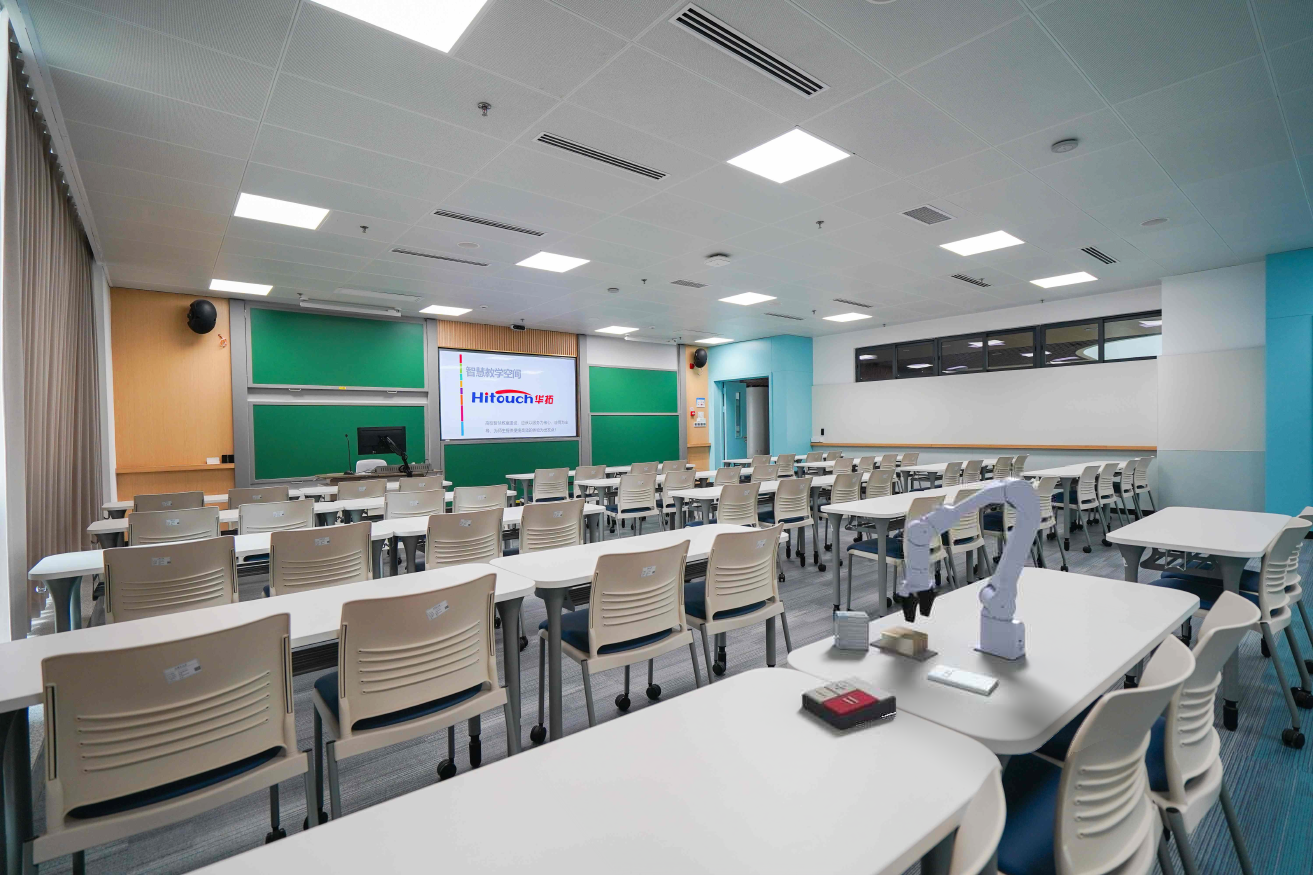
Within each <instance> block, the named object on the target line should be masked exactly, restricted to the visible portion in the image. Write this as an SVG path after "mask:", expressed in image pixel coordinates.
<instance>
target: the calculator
mask: <svg viewBox="0 0 1313 875" xmlns="http://www.w3.org/2000/svg"><path fill="white" fill-rule="evenodd" d="M801 707H802V708H803V709H804V710H806V711H808V712H809V713H811V714H813V715H815V717H817V718H819V719H821V720H822V721H824V723H825V722H826V723H827V724H829V725H831V726H832V727H834V728H835V729H837V730H838V729H839V730H838V731H840V730H843V731H846V730H849V729H848V728H850V729H852V728H851V727H853V728H855V727H854V726H856V725H859V724H862V723H865V722H868V721H870V722H872V721H871V720H873V719H876V718H878V719H880V718H879V717H882V716H885V715H887V714H890V713H894V712H896V713H897V698H896V696H895V695H893V694H892V693H890V692H887V691H886V690H883V689H882V688H880V687H877V686H875V685H874V684H871V683H870V682H868V681H865V679H862V678H860V677H858V676H855V675H854V676H852V677H849V678H846V679H843V680H841V679H840V680H837V681H834V682H832V683H828V684H825V685H824V686H819V687H815V688H813V689H810V690H807V691H805V692H804V693H803V694H801ZM876 720H877V719H876ZM873 721H874V720H873ZM868 723H869V722H868ZM865 724H866V723H865ZM862 725H863V724H862ZM859 726H860V725H859ZM856 727H857V726H856ZM845 729H846V730H845Z"/></svg>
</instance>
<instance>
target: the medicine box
mask: <svg viewBox="0 0 1313 875" xmlns="http://www.w3.org/2000/svg"><path fill="white" fill-rule="evenodd" d="M837 636H839V637H837ZM835 637H836V638H835ZM834 645H835V646H836V648H837V650H858V651H859V650H860V651H869V650H870V617H869V616H868V614H867V613H866V612H865V611H853V610H851V611H848V610H845V611H844V610H843V611H842V610H836V611H834Z"/></svg>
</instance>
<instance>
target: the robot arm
mask: <svg viewBox="0 0 1313 875" xmlns="http://www.w3.org/2000/svg"><path fill="white" fill-rule="evenodd" d="M1039 495H1040V493H1039V492H1038V491H1037V489H1036V487H1034V486H1033V485H1032V483H1031V482H1029V481H1027V480H1024V479H1019V478H1017V477H1014V476H1006V477H1003V478H1001V479H999V480H997V481H994V482H992V483H990V484H988V485H987V486H985V487H983V488H981V489H980V490H978V491H976V492H974V493H973V494H972V495H970V496H968V497H966V498H965V499H963V500H961V501H959V502H957V503H956V504H955V505H953V506H950V505H946V504H944V505H937V506H935V507H934V510H933V511H932V512H930V513H928V514H926V515H924V516H923V515H919V517H918V519H919V520H915V519H914V520H912V521H909V522H908V524H907V525H906V526H905V529H904V534H905V537H906V538H907V540H906V550H905V553H906V555H905V556H906V557H905V563H906V564H905V580H902V581H901V584H902V586H900V587H899V589H898V590H899V591H898V592H896V598H897V600H898V602H899V603H900V606H901V610H902V613H903V617H904V620H905V622H908V623H911V624H914V623H915V621H916V617H917V616H916V615H917V614H916V613H917V610H918V609H919V613H920V614H919V615H920V616H922V617H927V618H929V617H930V614H931V611H932V608H933V605H934V602H935V599H936V598H937V596H938V595H939V589H937V588H936V579H931V575H930V574H931V550H930V543H931V542H932V541H933V537H937V536H939V535H941V534H943V533H945V532H946V531H948V530H950V529H953V528H955V527H956V526H958V525H959V523H960V519H961V517H964V516H966V515H969V514H971V513H973V512H974V511H976V510H979V509H981V508H982V507H985V506H987V505H989V504H1007V505H1008V506H1009V508H1010V509H1011V511H1012V512H1013V514H1014V516H1015V517H1016V519H1015V521H1014V524H1013V526H1012V528H1011V531H1010V534H1009V537H1008V539H1007V541H1006V544H1005V546H1004V550H1003V551H1002V554H1001V557H1000V560H999V562H998V565H997V567H996V570H995V571H994V574H992V575H991V576H990V577H989V579H988V581H987V583H986V584H985V585H984V586H983V587H982V588H981V589H980V591H979V593H978V599H979V602H980V604H981V605H983V607H982V609H981V610H980V619H979V620H980V626H979V627H980V628H979V630H980V633H979V634H980V635H979V640H980V641H979V643H977V644H976V645H973V649H974V650H977V651H980V652H984V653H988V654H992V655H994V656H998V657H1002V658H1005V659H1009V660H1011V661H1012V660H1016V659H1017V658H1019V657H1021V656H1022V655H1025V654H1026V653H1027V651H1026V625H1025V624H1024V622H1023V621H1021V620H1018V619H1016V618H1015V617H1014V614H1015V612H1016V611H1017V604H1016V599H1017V596H1018V588H1017V587H1018V586H1017V585H1018V581H1019V578H1020V575H1021V573H1022V571H1023V569H1024V566H1025V564H1026V560H1027V558H1028V556H1029V553H1030V552H1031V549H1032V546H1033V543H1034V541H1035V538H1036V536H1037V533H1038V531H1039V529H1040V526H1041V524H1042V521H1043V514H1042V508H1041V505H1040V501H1039V497H1040V496H1039ZM914 593H916V595H917V596H915V595H914ZM918 607H919V608H918ZM917 608H918V609H917Z"/></svg>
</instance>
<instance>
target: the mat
mask: <svg viewBox="0 0 1313 875" xmlns="http://www.w3.org/2000/svg"><path fill="white" fill-rule="evenodd" d="M869 646H873V647H876V648H879V649H881V650H885V651H888V652H892V653H895V654H898V655H900V656H904V657H906V658H909V659H913V660H916V661H919V662H924V661H926V660H928V659H930V658H932V657H934V656H936V655H938V654H939V653H938V651H935V650H931V649H929V648H926V649H924V650H922V651H920V652H918V653H915V654H913V655H909V654H906V653H902V652H899V651H896V650H893V649H890V648H887V647H884V646H882V637H880V638H879V639H876V640H875V641H872V642H869Z"/></svg>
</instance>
